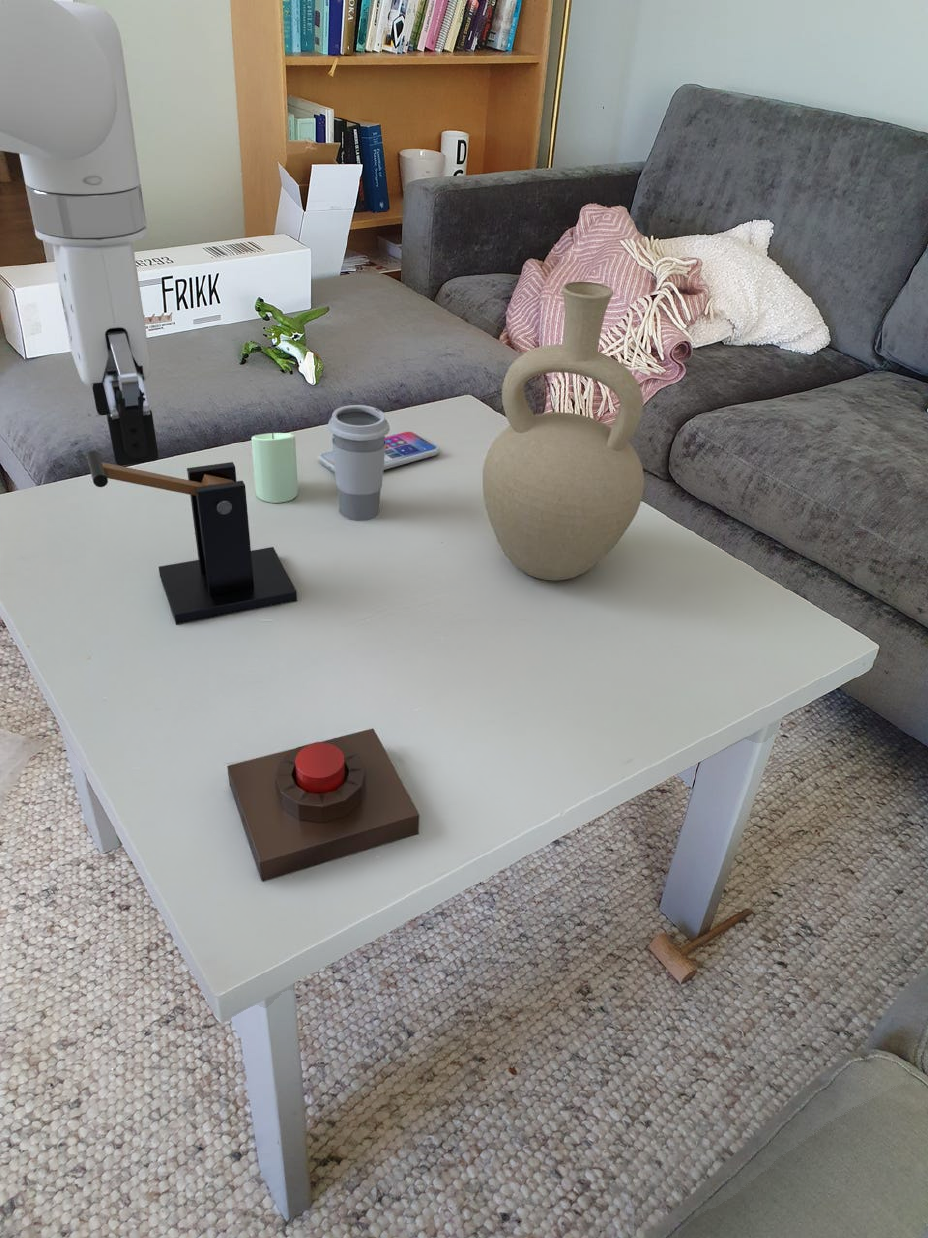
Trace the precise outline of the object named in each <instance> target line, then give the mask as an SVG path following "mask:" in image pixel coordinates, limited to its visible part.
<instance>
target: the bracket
mask: <svg viewBox="0 0 928 1238" xmlns="http://www.w3.org/2000/svg"><path fill="white" fill-rule="evenodd" d="M236 470H237V469H236V465H235V464H234V462H233V461H229V462H223V463H215V464H207V465H200V466H192V467H186V472H187V480H190V481H195V482H200V483H202V480H203V477H204V474H206V475H211V476H216V477H220V478H225V479H230V480H233V482H228V483H221V484H214V485H207V486H200V487H196V488H195V489H196V496H194V495H189V496H190V497H189V498H190V505H191V511H192V519H193V528H194V535H195V542H196V550H197V556H198V558H197V559H195V560H190V561H189V560H188V561H183V562H177V563H172V564H165V565H160V566H158V572H159V578H160V581H161V584H162V586H163V590H164V593H165V596H166V599H167V601H168V605H169V608H170V611H171V614H172V617H173V620H174V623H175V625H181V624H187V623H191V622H196V621H203V620H207V619H212V618H213V619H214V618H217V617H221V616H227V615H234V614H238V613H242V612H248V611H253V610H258V609H263V608H269V607H274V606H278V605H284V604H288V603H294V602H298V592H297V591H298V590H297V589H296V587H295V585H294V584H293V582H292V580H291V578H290V576H289V574H288V573H287V570H286V568H285V566H284V564H283V562H282V560H281V559H280V557H279V556H278V555H279V554H278V553H277V552H276V549H275V547H274V546H271V547H264V548H259V549H254V550H252V549H251V548H252V547H251V535H250V526H249V525H250V524H249V514H248V512H249V511H248V501H247V491H246V489H247V488H246V484H245V482H244V480H237V472H236Z"/></svg>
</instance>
